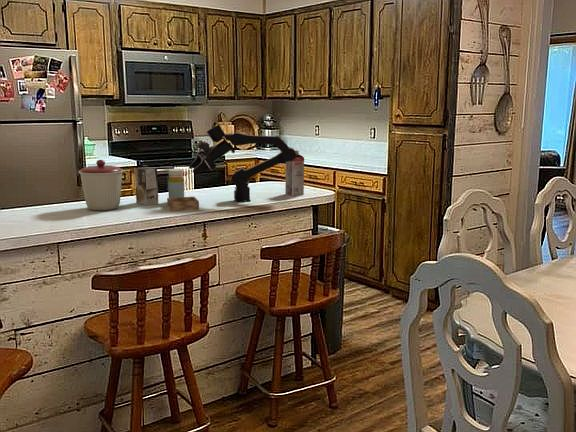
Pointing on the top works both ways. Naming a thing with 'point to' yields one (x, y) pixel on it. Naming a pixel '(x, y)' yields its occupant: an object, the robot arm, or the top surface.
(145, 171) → the coffee box
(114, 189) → the canister
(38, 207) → the top surface
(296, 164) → the juice carton
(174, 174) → the bottle
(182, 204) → the caddy
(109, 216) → the top surface
